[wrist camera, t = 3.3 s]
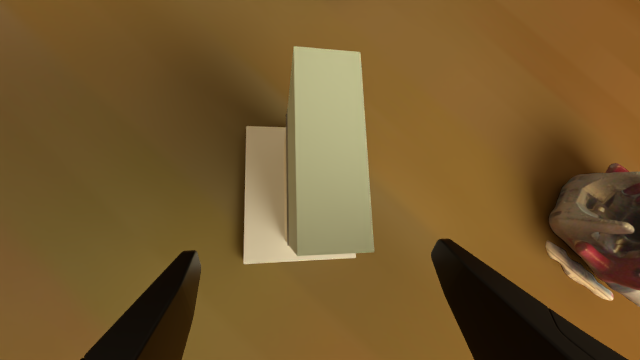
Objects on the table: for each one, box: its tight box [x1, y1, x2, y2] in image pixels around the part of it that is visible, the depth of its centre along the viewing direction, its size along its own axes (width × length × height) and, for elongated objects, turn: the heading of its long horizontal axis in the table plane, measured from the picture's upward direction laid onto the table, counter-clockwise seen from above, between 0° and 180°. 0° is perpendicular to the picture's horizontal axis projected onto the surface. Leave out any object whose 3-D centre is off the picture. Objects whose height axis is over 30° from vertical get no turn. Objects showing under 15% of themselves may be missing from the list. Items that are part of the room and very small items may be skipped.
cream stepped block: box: [244, 114, 356, 264], centre depth 17 cm, size 10×8×6 cm
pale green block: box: [287, 46, 374, 256], centre depth 11 cm, size 7×2×5 cm, turn 2°
